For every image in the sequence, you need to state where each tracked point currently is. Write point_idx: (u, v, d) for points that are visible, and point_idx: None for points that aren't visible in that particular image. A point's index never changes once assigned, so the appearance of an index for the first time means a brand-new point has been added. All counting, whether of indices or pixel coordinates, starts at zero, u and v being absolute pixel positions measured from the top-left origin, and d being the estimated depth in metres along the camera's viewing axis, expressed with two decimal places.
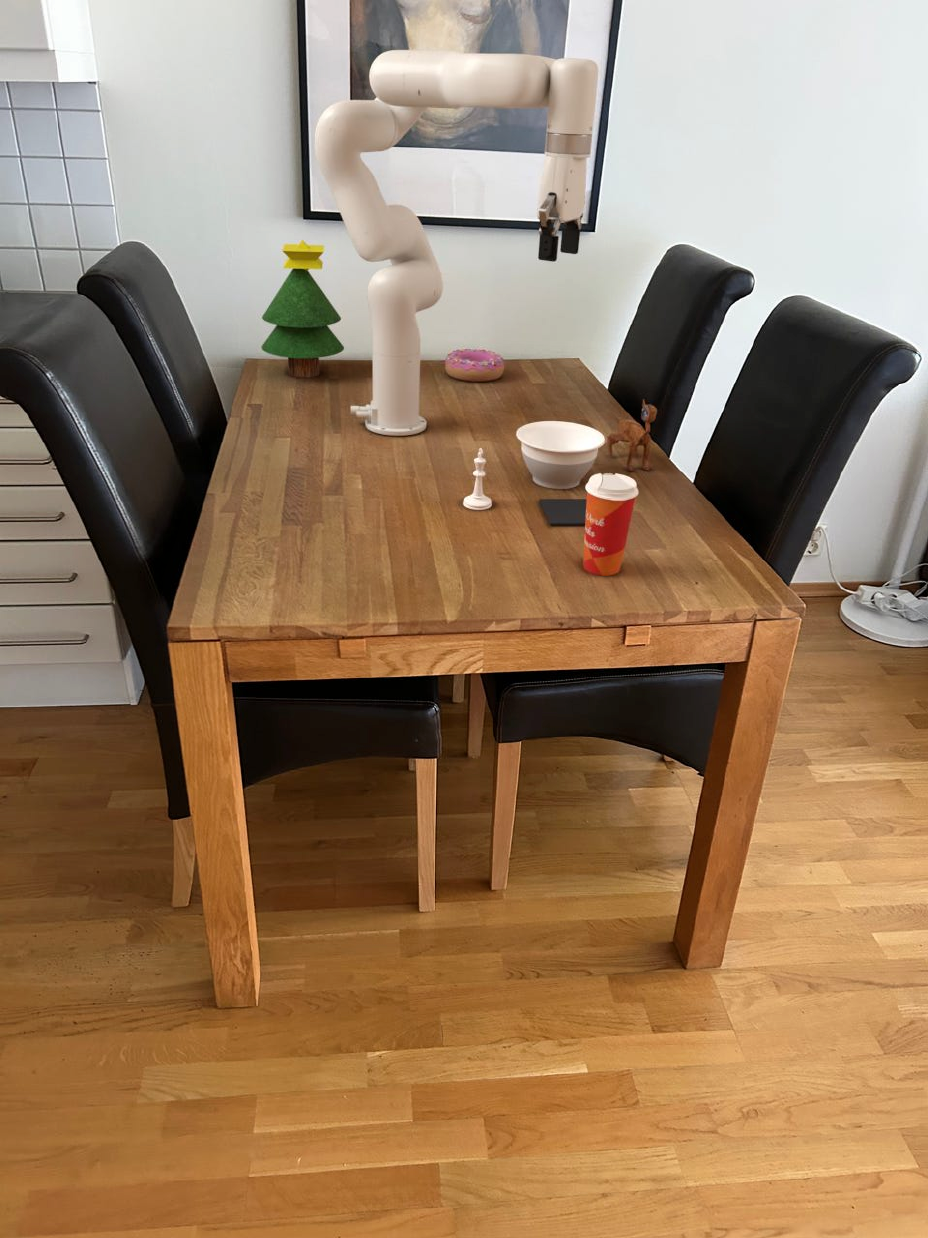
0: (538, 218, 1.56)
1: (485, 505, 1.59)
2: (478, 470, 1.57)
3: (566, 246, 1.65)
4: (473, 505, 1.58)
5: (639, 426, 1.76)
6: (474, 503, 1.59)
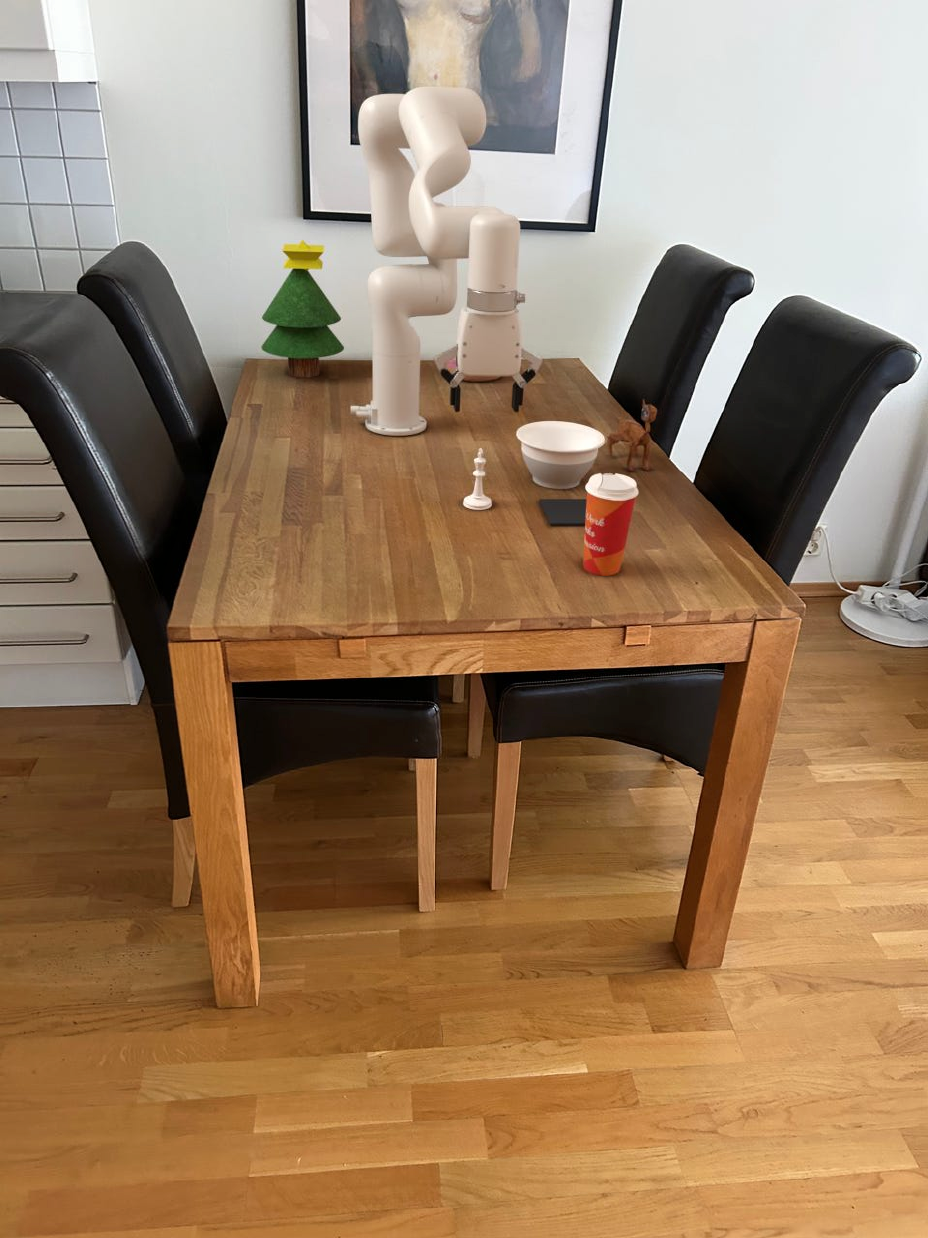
0: (457, 366, 1.51)
1: (485, 505, 1.59)
2: (478, 470, 1.57)
3: (512, 402, 1.53)
4: (473, 505, 1.58)
5: (639, 426, 1.76)
6: (474, 502, 1.59)
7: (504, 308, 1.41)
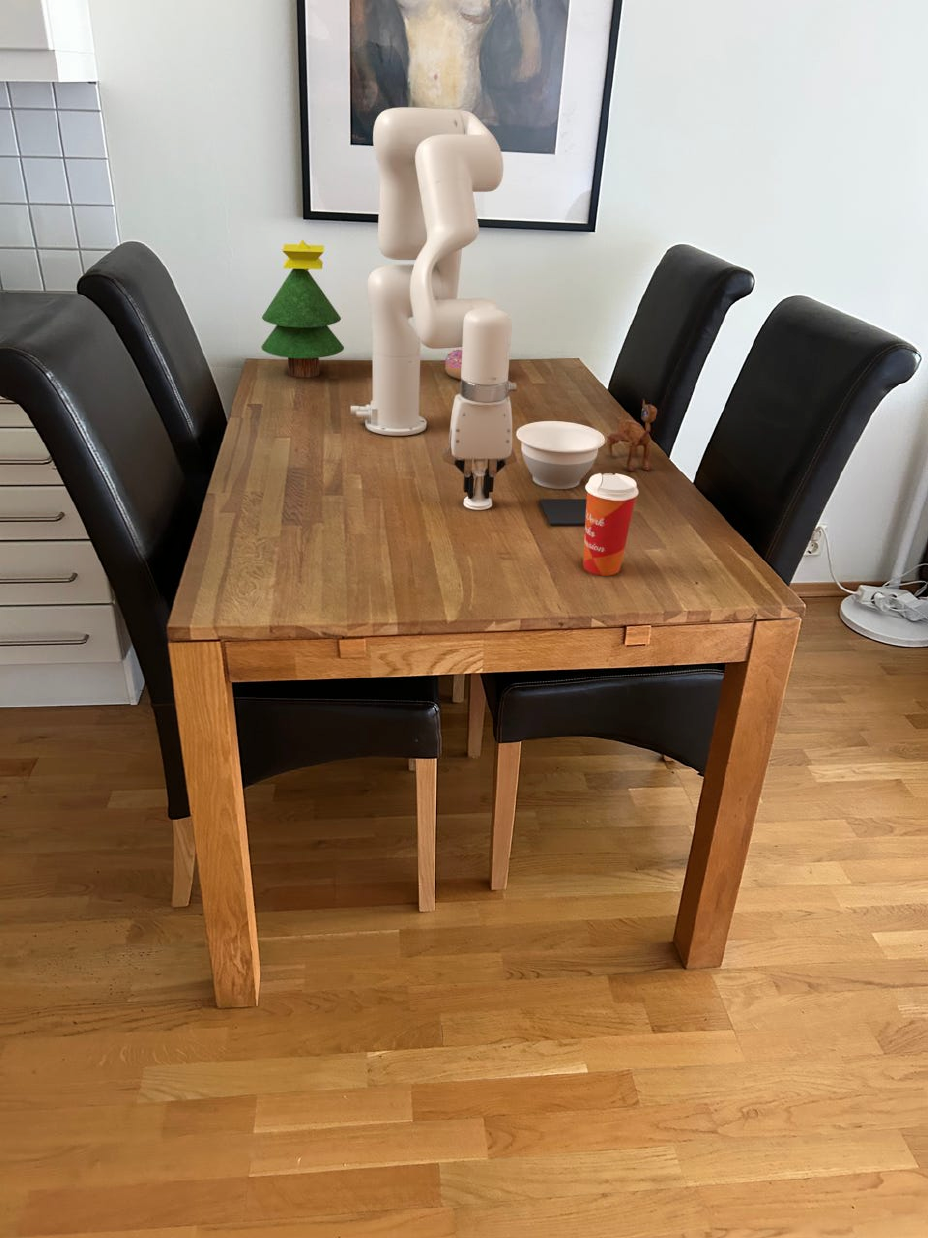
0: None
1: (485, 505, 1.58)
2: (478, 470, 1.57)
3: (483, 489, 1.60)
4: (473, 505, 1.58)
5: (639, 426, 1.76)
6: (474, 502, 1.59)
7: (496, 399, 1.48)
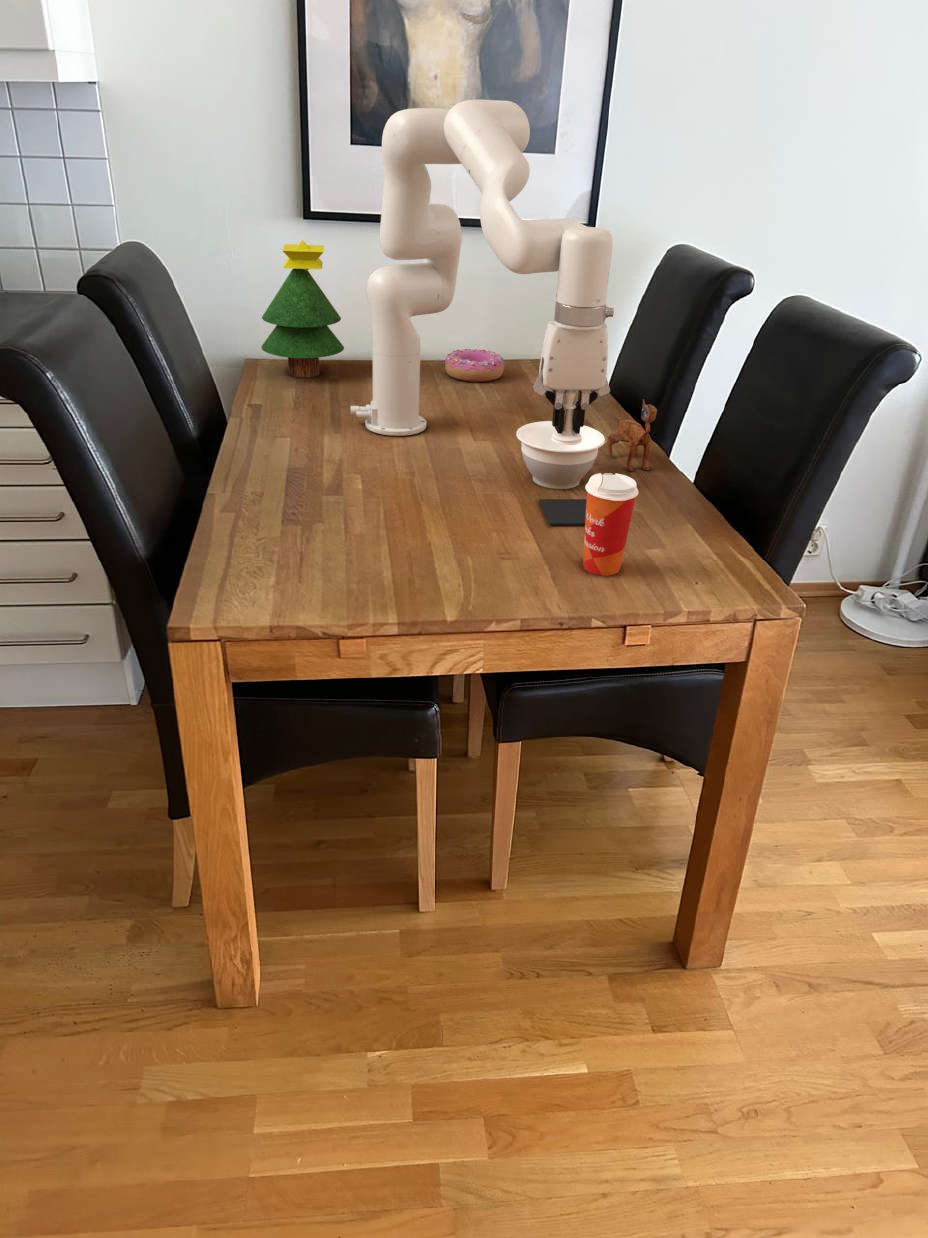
0: None
1: (575, 440, 1.51)
2: (569, 402, 1.49)
3: (573, 423, 1.52)
4: (563, 440, 1.51)
5: (639, 426, 1.76)
6: (564, 437, 1.51)
7: (593, 323, 1.40)
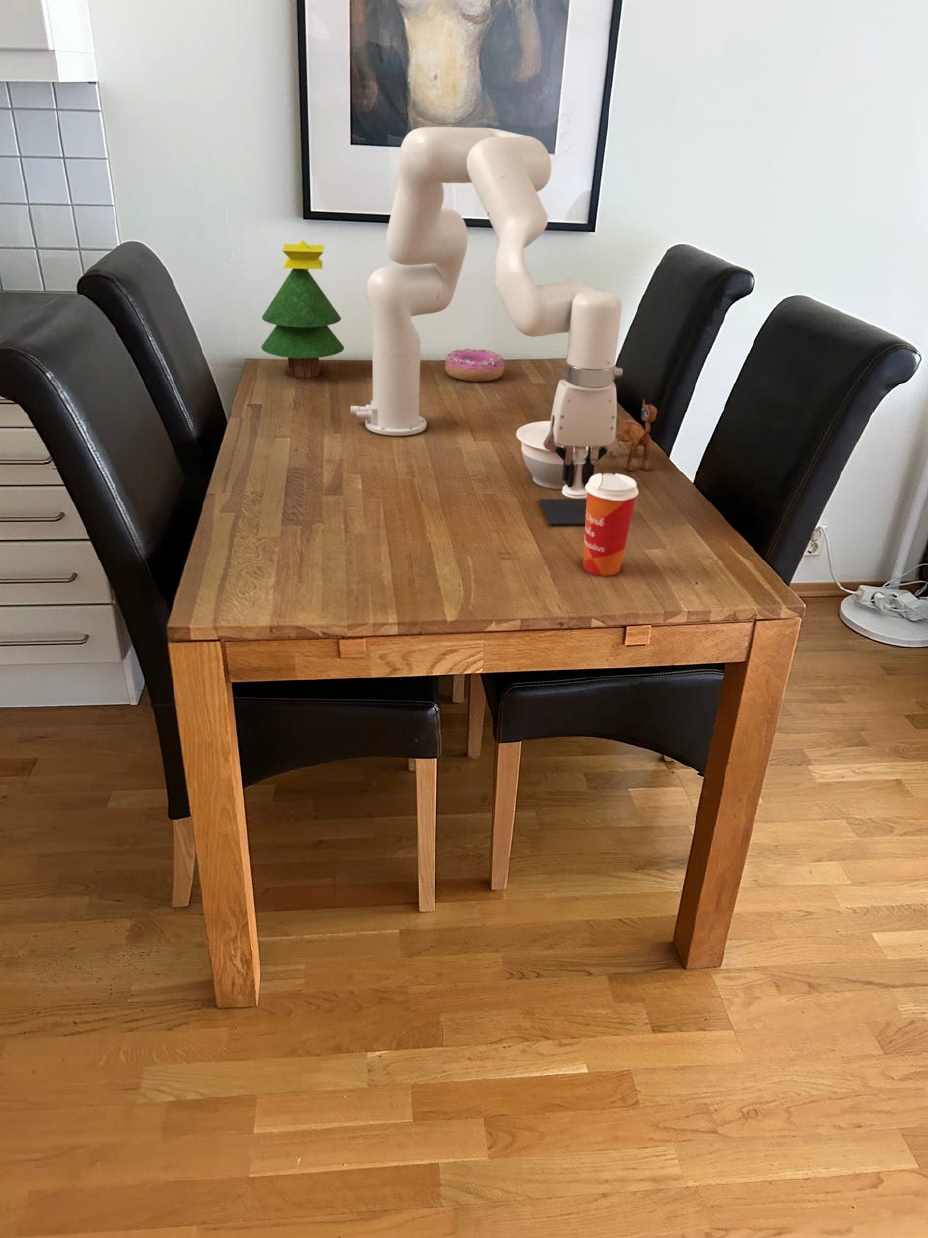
0: None
1: (585, 494, 1.55)
2: (578, 458, 1.54)
3: (582, 477, 1.56)
4: (573, 494, 1.55)
5: (639, 426, 1.76)
6: (574, 491, 1.55)
7: (603, 384, 1.45)
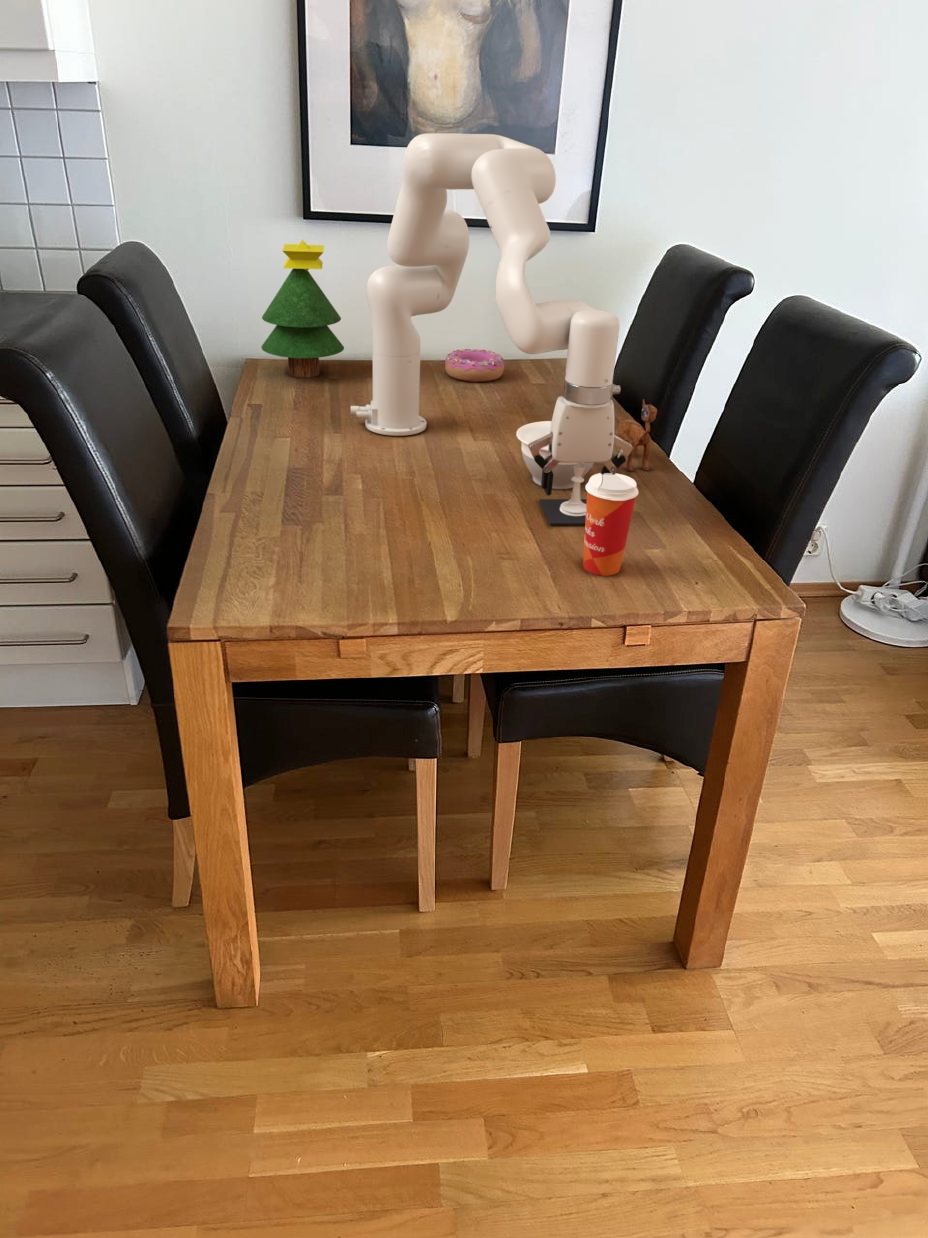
0: None
1: (583, 512, 1.57)
2: (577, 476, 1.55)
3: None
4: (571, 511, 1.57)
5: (639, 426, 1.76)
6: (571, 509, 1.57)
7: (601, 401, 1.46)
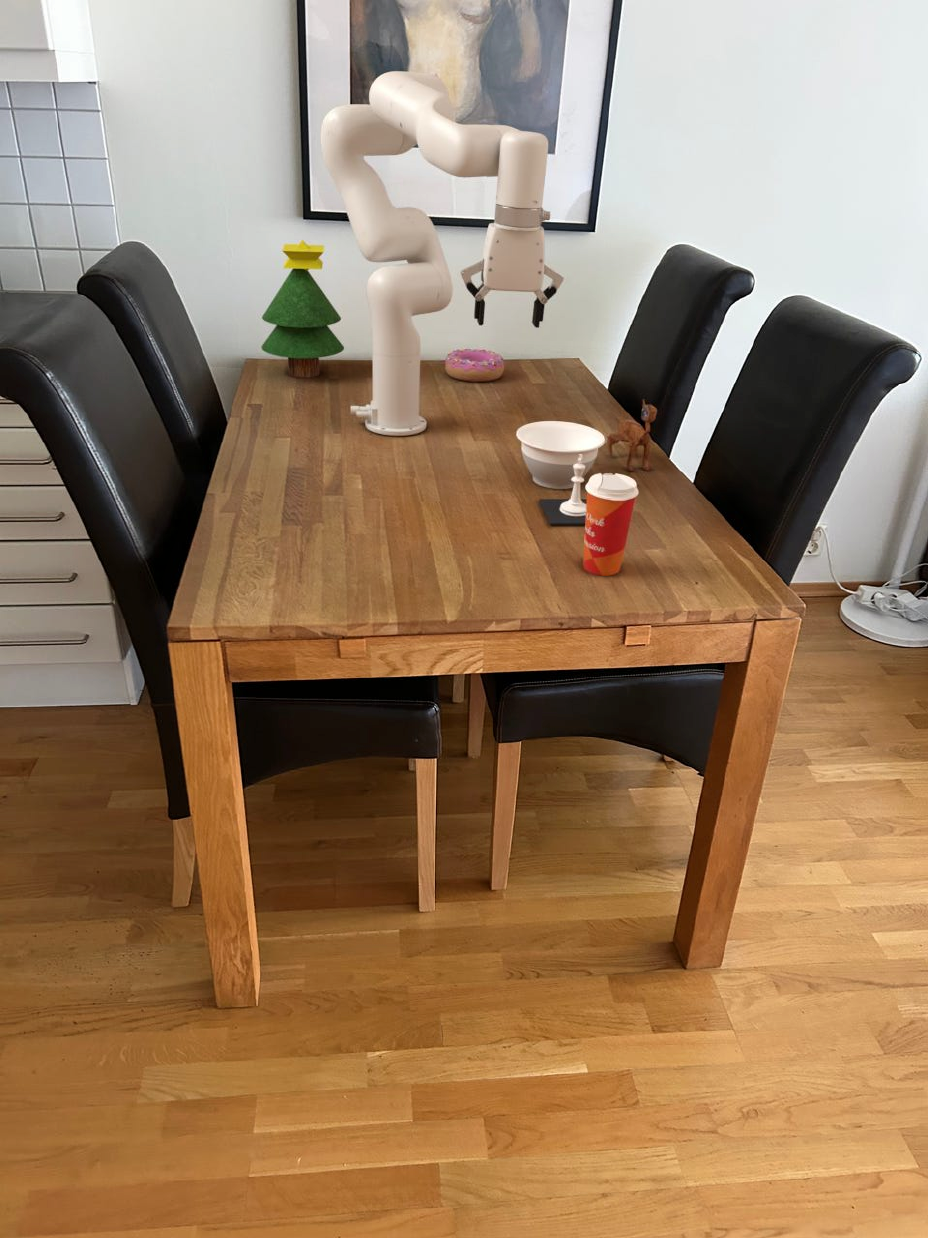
0: (482, 281, 1.58)
1: (583, 512, 1.57)
2: (577, 476, 1.55)
3: (533, 318, 1.61)
4: (571, 511, 1.57)
5: (639, 426, 1.76)
6: (571, 509, 1.57)
7: (530, 224, 1.49)
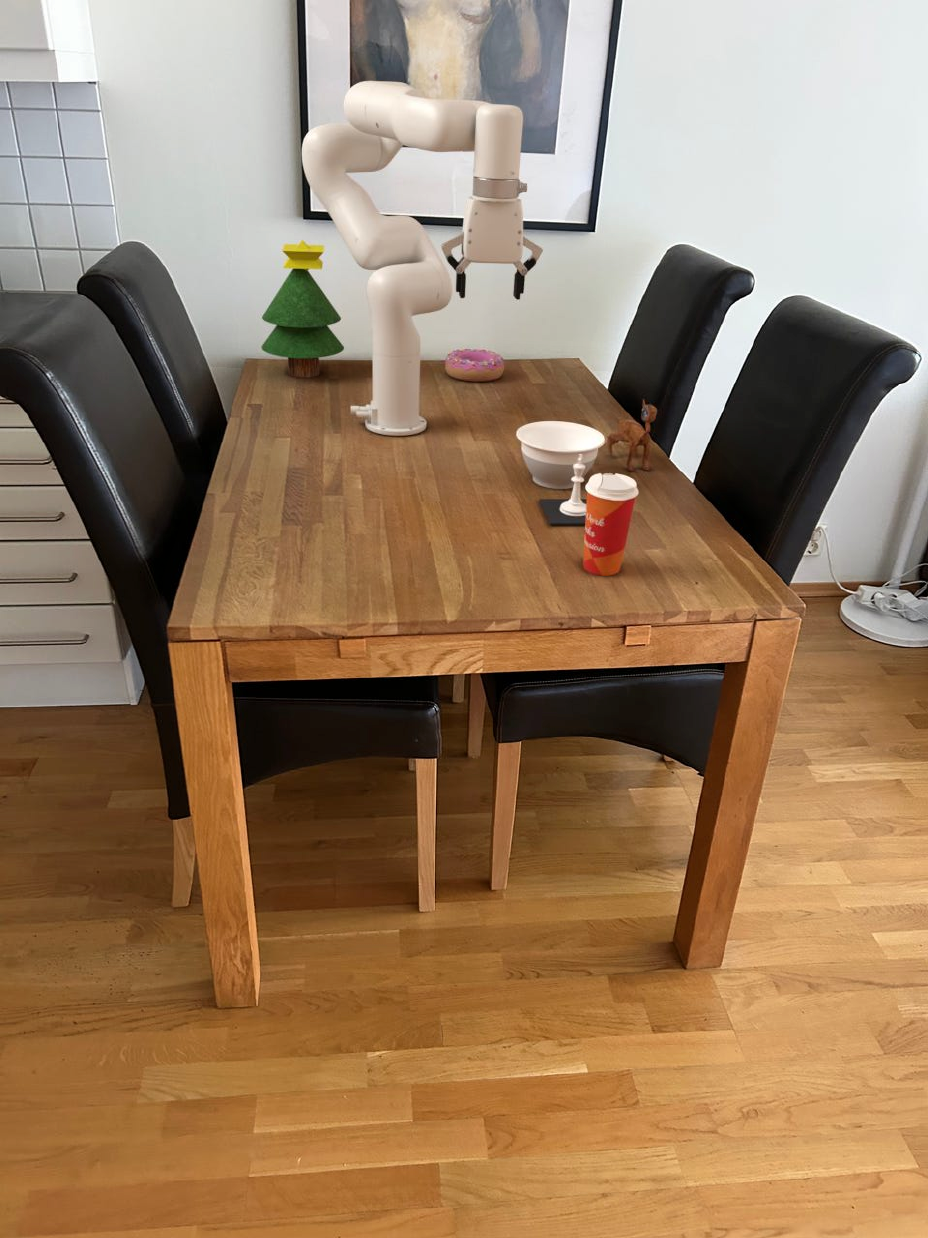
0: None
1: (583, 512, 1.57)
2: (577, 476, 1.55)
3: (514, 290, 1.63)
4: (571, 511, 1.57)
5: (639, 426, 1.76)
6: (571, 509, 1.57)
7: (507, 195, 1.52)
